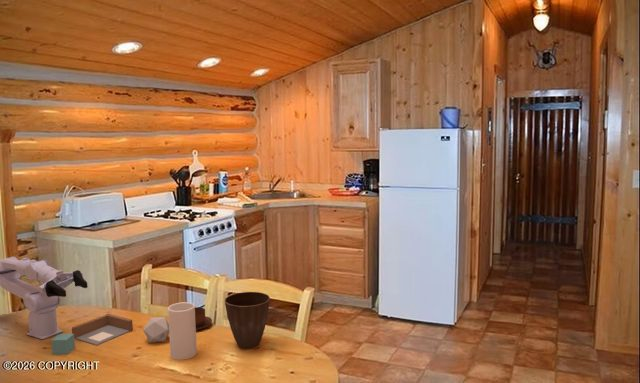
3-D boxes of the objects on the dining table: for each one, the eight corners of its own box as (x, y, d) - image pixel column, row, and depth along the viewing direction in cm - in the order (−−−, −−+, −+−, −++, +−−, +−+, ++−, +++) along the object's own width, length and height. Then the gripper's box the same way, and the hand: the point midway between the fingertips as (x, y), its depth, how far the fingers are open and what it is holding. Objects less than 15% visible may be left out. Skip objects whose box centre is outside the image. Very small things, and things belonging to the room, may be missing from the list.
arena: (72, 338, 181) (71, 327, 180) (109, 323, 194) (108, 313, 193) (96, 345, 174) (96, 334, 174) (132, 330, 187) (132, 319, 187)
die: (156, 349, 172) (172, 323, 174) (134, 335, 173) (151, 310, 175) (163, 348, 180) (178, 323, 182) (142, 335, 181) (158, 310, 183)
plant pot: (235, 334, 182) (234, 290, 180) (276, 337, 179) (275, 292, 177) (219, 352, 168) (217, 304, 166) (263, 355, 165) (261, 307, 163)
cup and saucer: (176, 324, 193) (175, 308, 192) (208, 318, 198) (207, 303, 197) (181, 335, 182) (181, 318, 182) (215, 329, 187) (214, 313, 187)
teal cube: (52, 354, 168) (51, 340, 167) (60, 348, 173) (59, 334, 172) (67, 354, 168) (66, 339, 167) (75, 348, 173) (74, 333, 172)
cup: (201, 350, 169) (199, 303, 167) (187, 361, 162) (185, 312, 160) (180, 347, 172) (177, 301, 170) (165, 357, 164) (162, 309, 162)
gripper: (30, 274, 172) (53, 286, 165) (71, 260, 183) (94, 271, 176) (32, 293, 174) (55, 306, 167) (72, 277, 185) (96, 289, 179)
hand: (75, 289), depth 172 cm, fingers open, 7 cm apart
